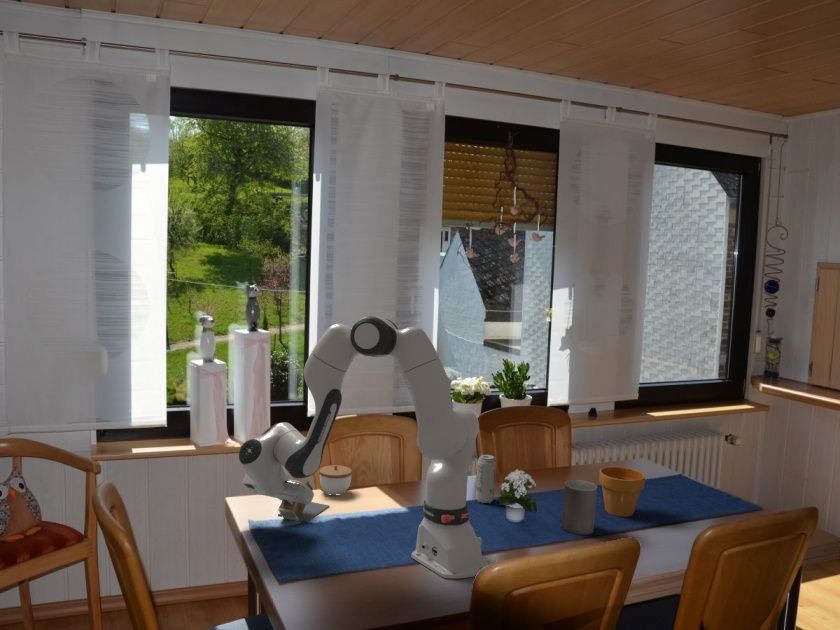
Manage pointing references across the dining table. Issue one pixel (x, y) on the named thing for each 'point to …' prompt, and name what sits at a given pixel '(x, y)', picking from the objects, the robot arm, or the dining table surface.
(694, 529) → the dining table surface
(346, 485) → the lidded jar
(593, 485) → the pillar candle
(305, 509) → the felt mat
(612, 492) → the flower pot
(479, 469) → the energy drink can
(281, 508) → the walnut block
